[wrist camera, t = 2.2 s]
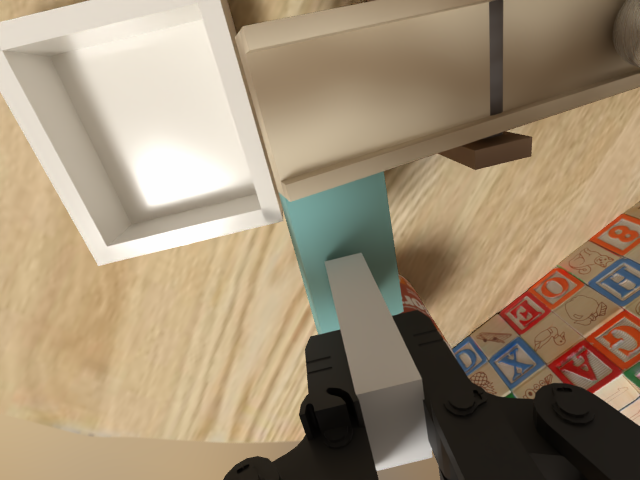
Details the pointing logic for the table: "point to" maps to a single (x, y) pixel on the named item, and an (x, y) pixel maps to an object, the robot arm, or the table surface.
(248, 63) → the lever
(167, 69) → the white square tray
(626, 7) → the ball
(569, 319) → the stack of blocks
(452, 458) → the robot arm
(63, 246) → the table surface
